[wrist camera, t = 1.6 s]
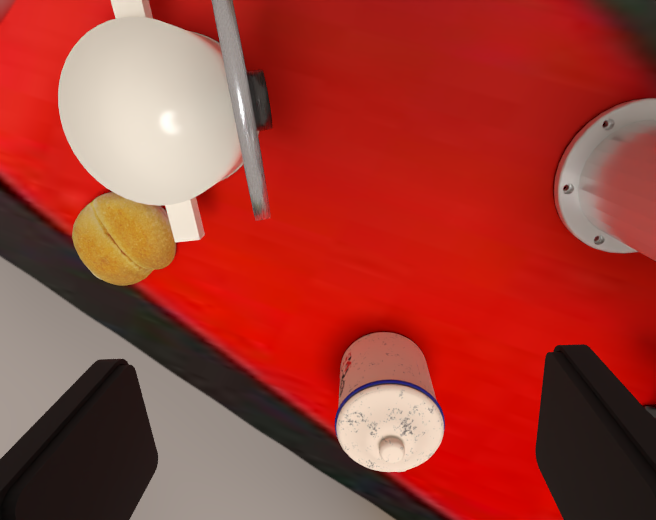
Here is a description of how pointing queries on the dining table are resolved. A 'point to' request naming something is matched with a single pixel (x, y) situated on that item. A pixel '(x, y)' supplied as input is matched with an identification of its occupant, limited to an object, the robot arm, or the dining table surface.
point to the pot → (150, 113)
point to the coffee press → (651, 410)
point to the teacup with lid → (387, 404)
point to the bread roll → (123, 239)
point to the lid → (245, 104)
